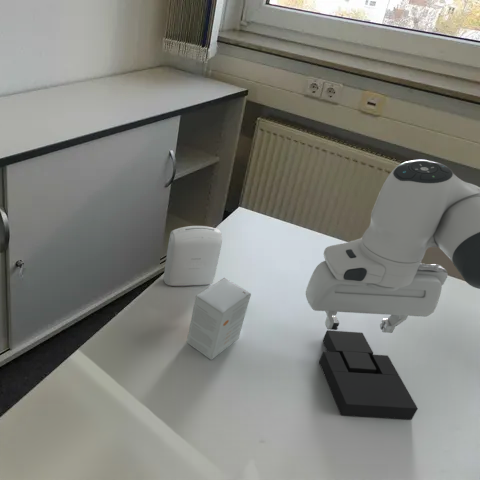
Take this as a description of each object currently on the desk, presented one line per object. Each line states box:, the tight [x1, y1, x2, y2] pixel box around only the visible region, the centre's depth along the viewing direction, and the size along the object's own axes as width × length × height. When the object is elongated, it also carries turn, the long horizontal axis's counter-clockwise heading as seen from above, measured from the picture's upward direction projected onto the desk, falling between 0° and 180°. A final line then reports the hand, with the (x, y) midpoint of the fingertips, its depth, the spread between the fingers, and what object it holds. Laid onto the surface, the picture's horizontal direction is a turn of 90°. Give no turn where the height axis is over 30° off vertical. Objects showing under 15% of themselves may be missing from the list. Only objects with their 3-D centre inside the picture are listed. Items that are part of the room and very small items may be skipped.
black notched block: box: [318, 350, 418, 421], centre depth 86 cm, size 11×11×3 cm
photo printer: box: [162, 225, 223, 287], centre depth 104 cm, size 10×4×12 cm, turn 99°
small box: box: [186, 277, 252, 361], centre depth 90 cm, size 8×6×10 cm
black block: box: [322, 329, 377, 374], centre depth 91 cm, size 9×6×3 cm
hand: (358, 328), depth 91 cm, fingers open, 8 cm apart
